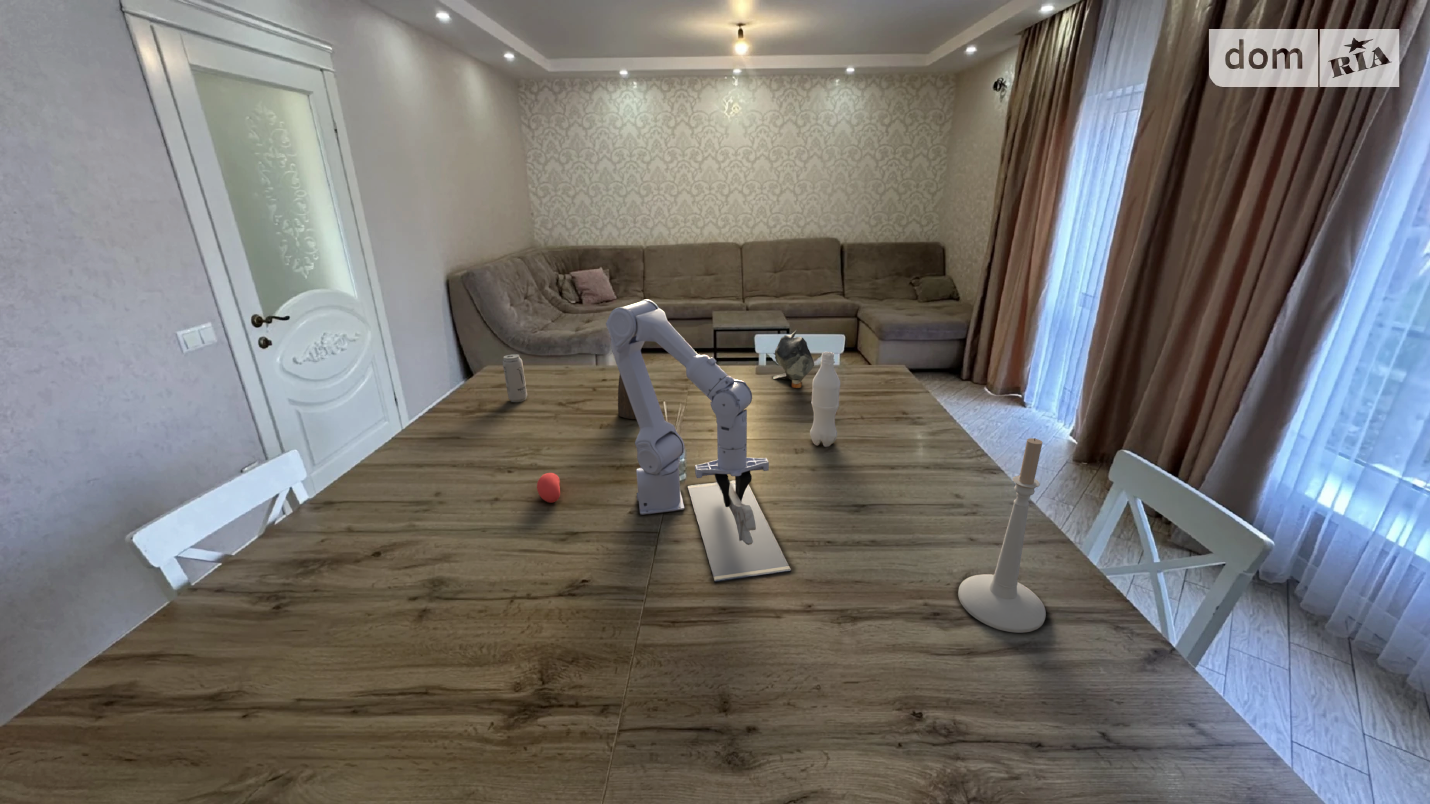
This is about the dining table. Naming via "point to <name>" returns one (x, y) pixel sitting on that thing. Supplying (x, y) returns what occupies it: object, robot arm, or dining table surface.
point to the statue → (624, 402)
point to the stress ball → (549, 487)
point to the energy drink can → (514, 378)
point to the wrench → (741, 516)
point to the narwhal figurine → (793, 359)
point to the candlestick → (1009, 566)
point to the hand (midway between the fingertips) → (732, 503)
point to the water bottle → (825, 401)
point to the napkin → (734, 536)
